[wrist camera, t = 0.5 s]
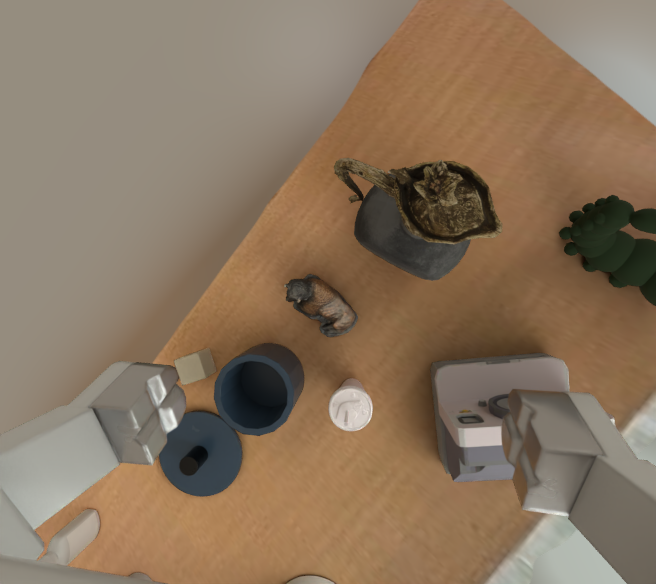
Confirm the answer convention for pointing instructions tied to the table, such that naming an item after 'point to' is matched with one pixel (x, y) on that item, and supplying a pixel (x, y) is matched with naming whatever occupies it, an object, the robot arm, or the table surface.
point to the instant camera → (485, 408)
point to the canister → (259, 389)
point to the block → (195, 366)
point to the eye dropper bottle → (73, 538)
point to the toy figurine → (615, 243)
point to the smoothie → (350, 406)
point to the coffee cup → (140, 576)
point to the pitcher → (421, 214)
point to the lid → (201, 454)
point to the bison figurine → (321, 305)
